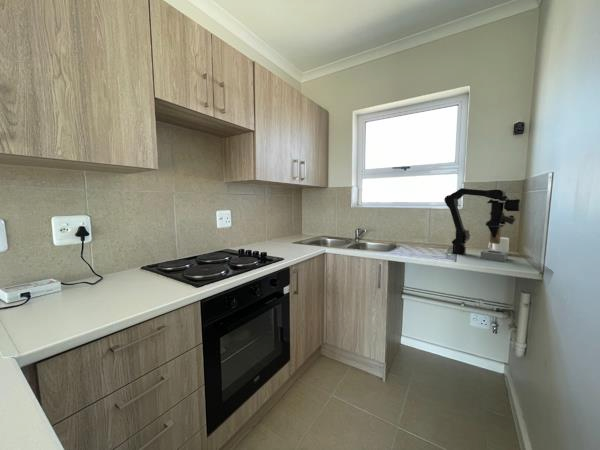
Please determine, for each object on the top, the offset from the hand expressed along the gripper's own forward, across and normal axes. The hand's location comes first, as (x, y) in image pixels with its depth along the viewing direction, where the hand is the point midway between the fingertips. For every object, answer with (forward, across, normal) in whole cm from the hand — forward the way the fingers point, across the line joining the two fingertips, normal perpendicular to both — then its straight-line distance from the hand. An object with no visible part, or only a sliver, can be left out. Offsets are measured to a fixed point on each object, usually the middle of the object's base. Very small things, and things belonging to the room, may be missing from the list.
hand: (495, 237), depth 146 cm
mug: (+13, +19, +2) cm, 23 cm away
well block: (+13, 0, 0) cm, 13 cm away
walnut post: (+4, 0, 0) cm, 4 cm away
